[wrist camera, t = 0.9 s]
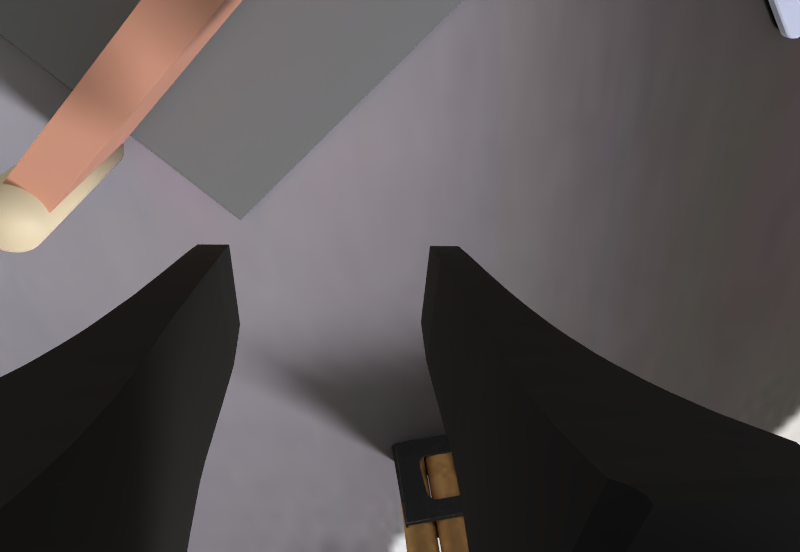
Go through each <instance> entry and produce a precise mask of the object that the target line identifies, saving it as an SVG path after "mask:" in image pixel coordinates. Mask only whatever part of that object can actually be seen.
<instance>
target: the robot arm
mask: <svg viewBox="0 0 800 552" xmlns="http://www.w3.org/2000/svg"><path fill="white" fill-rule="evenodd" d="M768 1H769V4H770V6H771V9H772V12H773V14H774V17H775V20H776V22H777V25H778V28H779V30H780V33H781V34H782V35H783V36H785V37H788V38H798V37H800V0H768ZM421 325H422V333H423V340H424V348H425V354H426V361H427V365H428V369H429V373H430V376H431V380H432V384H433V387H434V391H435V395H436V398H437V402H438V405H439V409H440V413H441V416H442V420H443V423H444V427H445V430H446V434H447V438H448V441H449V445H450V448H451V453H452V457H453V461H454V466H455V470H456V476H457V482H458V487H459V493H460V499H461V505H462V511H463V517H464V524H465V530H466V537H467V543H468V550H469V552H800V445H799V444H798V443H797V442H794V441H791V440H789V439H786V438H783V437H781V436H778V435H775V434H772V433H770V432H767V431H764V430H762V429H759V428H756V427H754V426H751V425H748V424H746V423H743V422H740V421H738V420H735V419H732V418H729V417H727V416H724V415H721V414H719V413H716V412H714V411H712V410H709V409H707V408H705V407H702V406H700V405H698V404H696V403H693V402H691V401H689V400H686V399H684V398H682V397H680V396H677V395H675V394H673V393H670V392H668V391H666V390H664V389H662V388H660V387H658V386H656V385H654V384H652V383H650V382H647V381H645V380H643V379H642V378H640V377H638V376H636V375H634V374H632V373H630V372H628V371H627V370H625V369H623V368H621V367H619V366H617V365H615V364H613V363H611V362H610V361H608V360H606V359H604V358H603V357H601V356H599V355H597V354H596V353H594V352H592V351H591V350H589V349H588V348H586V347H585V346H583V345H581V344H580V343H578V342H577V341H575V340H574V339H572V338H570V337H569V336H567V335H566V334H564V333H563V332H561V331H560V330H558V329H557V328H555V327H554V326H553V325H551V324H550V323H548V322H547V321H546V320H544V319H543V318H542V317H541V316H539V315H538V314H537V313H535V312H534V311H533V310H531V309H530V308H529V307H527V306H526V305H525V304H524V303H522V302H521V301H520V300H519V299H517V298H516V297H515V296H514V295H513V294H511V293H510V292H509V291H508V290H507V289H506V288H504V287H503V286H502V285H501V284H500V283H499V282H498V281H496V280H495V279H494V278H493V277H492V276H491V275H490V274H489V273H488V272H486V271H485V270H484V269H483V268H482V267H481V266H480V265H479V264H478V263H477V262H476V261H474V260H473V259H472V258H471V257H470V256H469V255H468V254H467V253H466V252H464V251H463V250H462V249H461V248H460V247H458V246H430V251H429V260H428V268H427V277H426V285H425V293H424V302H423V310H422V319H421ZM239 327H240V321H239V314H238V307H237V299H236V292H235V285H234V277H233V270H232V263H231V255H230V248H229V245H196V246H195V247H194V248H192V249H191V250H190V251H188V252H187V253H186V254H184V255H183V256H182V257H181V258H180V259H178V260H177V261H176V262H175V263H173V264H172V265H171V266H170V267H169V268H167V269H166V270H165V271H164V272H162V273H161V274H160V275H159V276H157V277H156V278H155V279H154V280H152V281H151V282H150V283H148V284H147V285H146V286H145V287H143V288H142V289H141V290H140V291H138V292H137V293H136V294H134V295H133V296H132V297H130V298H129V299H128V300H126V301H125V302H123V303H122V304H120V305H119V306H118V307H116V308H115V309H113V310H112V311H111V312H109V313H108V314H106V315H105V316H104V317H102V318H101V319H99V320H98V321H97V322H95V323H94V324H92V325H91V326H89V327H88V328H86V329H85V330H83V331H82V332H80V333H79V334H77V335H75V336H74V337H72V338H70V339H69V340H67V341H66V342H64V343H62V344H61V345H59V346H57V347H55V348H54V349H52V350H50V351H49V352H47V353H45V354H43V355H42V356H40V357H38V358H37V359H35V360H33V361H31V362H29V363H28V364H26V365H24V366H22V367H20V368H18V369H16V370H14V371H12V372H10V373H8V374H6V375H4V376H2V377H0V552H187V548H188V542H189V537H190V531H191V526H192V520H193V515H194V510H195V504H196V499H197V494H198V489H199V483H200V479H201V475H202V471H203V467H204V463H205V460H206V456H207V453H208V450H209V446H210V443H211V440H212V437H213V433H214V430H215V427H216V423H217V420H218V417H219V413H220V410H221V407H222V403H223V400H224V397H225V393H226V390H227V386H228V383H229V380H230V376H231V373H232V369H233V366H234V360H235V354H236V348H237V341H238V334H239Z"/></svg>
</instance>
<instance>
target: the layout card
mask: <svg viewBox="0 0 800 552" xmlns="http://www.w3.org/2000/svg"><path fill="white" fill-rule="evenodd" d="M140 1H141V0H0V35H1V36H3V37H4V38H5V39H7V40H8V41H9V42H10V43H12V44H13V45H14V46H16V47H17V48H18V49H20V50H21V51H22V52H23V53H25V54H26V55H27V56H29V57H30V58H31V59H32V60H34V61H35V62H36V63H38V64H39V65H40V66H41V67H43V68H44V69H45V70H47V71H48V72H49V73H51V74H52V75H53V76H54V77H56V78H57V79H58V80H60V81H61V82H62V83H63V84H65V85H66V86H67V87H69V88H70V89H71V90H73V89H74V88H75V87H76V86H77V84H78V83H79V82H80V80H81V79H82V78H83V76H84V75H85V74H86V72H87V71H88V70H89V68H90V67H91V66H92V64H93V63H94V62H95V60H96V59H97V58H98V56H99V55H100V54H101V52H102V51H103V50H104V48H105V47H106V46H107V44H108V43H109V42H110V41H111V39H112V38H113V37H114V35H115V34H116V33H117V31H118V30H119V29H120V27H121V26H122V25H123V23H124V22H125V21H126V19H127V18H128V17H129V15H130V14H131V13H132V11H133V10H134V9H135V7H136V6H137V5H138V3H139V2H140ZM462 1H463V0H242V1H241V3H240V4H239V5H238V6H237V7H236V9H235V10H234V11H233V12H232V13H231V15H230V16H229V17H228V18H227V19H226V21H225V22H224V23H223V24H222V25H221V27H220V28H219V29H218V30H217V31H216V33H215V34H214V35H213V36H212V37H211V38H210V40H209V41H208V42H207V43H206V44H205V46H204V47H203V48H202V49H201V50H200V52H199V53H198V54H197V55H196V56H195V58H194V59H193V60H192V61H191V62H190V64H189V65H188V66H187V67H186V68H185V70H184V71H183V72H182V73H181V74H180V76H179V77H178V78H177V79H176V80H175V82H174V83H173V84H172V85H171V86H170V87H169V89H168V90H167V91H166V92H165V93H164V95H163V96H162V97H161V98H160V99H159V101H158V102H157V103H156V104H155V105H154V107H153V108H152V109H151V110H150V111H149V113H148V114H147V115H146V116H145V117H144V119H143V120H142V121H141V122H140V123H139V125H138V126H137V127H136V128H135V129H134V131H133V132H132V133H131V134H130V135H131V136H132V137H133V138H135V139H136V140H137V141H139V142H140V143H141V144H142V145H144V146H145V147H146V148H148V149H149V150H150V151H151V152H153V153H154V154H155V155H157V156H158V157H159V158H161V159H162V160H163V161H164V162H166V163H167V164H168V165H170V166H171V167H172V168H173V169H175V170H176V171H177V172H179V173H180V174H181V175H182V176H184V177H185V178H186V179H188V180H189V181H190V182H192V183H193V184H194V185H195V186H197V187H198V188H199V189H201V190H202V191H203V192H204V193H206V194H207V195H208V196H210V197H211V198H212V199H214V200H215V201H216V202H217V203H219V204H220V205H221V206H223V207H224V208H225V209H226V210H228V211H229V212H230V213H232V214H233V215H234V216H236V217H237V218H238V219H239V220H241V219H242V218H243V217H244V216H245V215H246V214H247V213H248V212H249V211H250V210H251V209H252V208H253V207H254V206H255V205H256V204H257V203H258V202H259V201H260V200H261V199H262V198H263V197H264V196H265V195H266V194H267V193H268V192H269V191H270V190H271V189H272V188H273V187H274V186H275V185H276V184H277V183H278V182H279V181H280V180H281V179H282V178H283V177H284V176H285V175H286V174H287V173H288V172H289V171H290V170H291V169H292V168H293V167H294V166H295V165H296V164H297V163H298V162H300V161H301V160H302V159H303V158H304V157H305V156H306V155H307V154H308V153H309V152H310V151H311V150H312V149H313V148H314V147H315V146H316V145H317V144H318V143H319V142H320V141H321V140H322V139H323V138H324V137H325V136H326V135H327V134H328V133H329V132H330V131H331V130H332V129H333V128H334V127H335V126H336V125H337V124H338V123H339V122H340V121H341V120H342V119H343V118H344V117H345V116H346V115H347V114H348V113H349V112H350V111H351V110H352V109H353V108H354V107H355V106H356V105H357V104H358V103H359V102H360V101H361V100H362V99H363V98H364V97H365V96H366V95H367V94H368V93H369V92H370V91H371V90H372V89H373V88H374V87H375V86H377V85H378V84H379V83H380V82H381V81H382V80H383V79H384V78H385V77H386V76H387V75H388V74H389V73H390V72H391V71H392V70H393V69H394V68H395V67H396V66H397V65H398V64H399V63H400V62H401V61H402V60H403V59H404V58H405V57H406V56H407V55H408V54H409V53H410V52H411V51H412V50H413V49H414V48H415V47H416V46H417V45H418V44H419V43H420V42H421V41H422V40H423V39H424V38H425V37H426V36H427V35H428V34H429V33H430V32H431V31H432V30H433V29H434V28H435V27H436V26H437V25H438V24H439V23H440V22H441V21H442V20H443V19H444V18H445V17H446V16H447V15H448V14H449V13H450V12H451V11H453V10H454V9H455V8H456V7H457V6H458V5H459V4H460V3H461V2H462Z"/></svg>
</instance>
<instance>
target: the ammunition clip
mask: <svg viewBox="0 0 800 552" xmlns="http://www.w3.org/2000/svg"><path fill="white" fill-rule="evenodd" d="M392 450H393V456H394V462H395V468H396V474H397V479H398V485H399V491H400V497H401V505H402V514H403V522H404V530H405V538H406V546H407V552H440V551H439V545H438V539H437V538H439V540H440V545H441V551H442V552H469V550H468V543H467V537H466V530H465V524H464V517H463V511H462V505H461V499H460V493H459V487H458V482H457V476H456V470H455V466H454V461H453V457H452V453H451V448H450V445H449V441H448V438H447V435H441V436H436V437H430V438H424V439H418V440H413V441H407V442H401V443H395V444H394V445H393V446H392ZM427 475H428V478H429V484H430V489H431V495H432V498H431V496H430V490H429V484H428V478H427Z"/></svg>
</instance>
